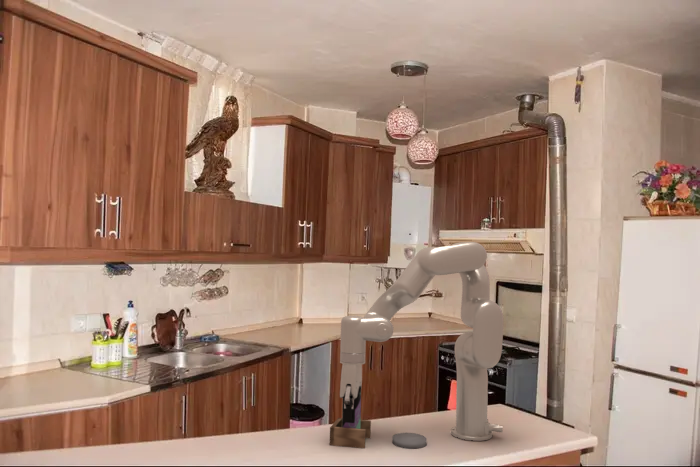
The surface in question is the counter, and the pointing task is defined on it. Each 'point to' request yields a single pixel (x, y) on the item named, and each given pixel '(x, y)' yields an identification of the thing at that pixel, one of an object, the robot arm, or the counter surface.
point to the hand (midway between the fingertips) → (351, 418)
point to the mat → (409, 440)
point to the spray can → (357, 412)
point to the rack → (349, 434)
